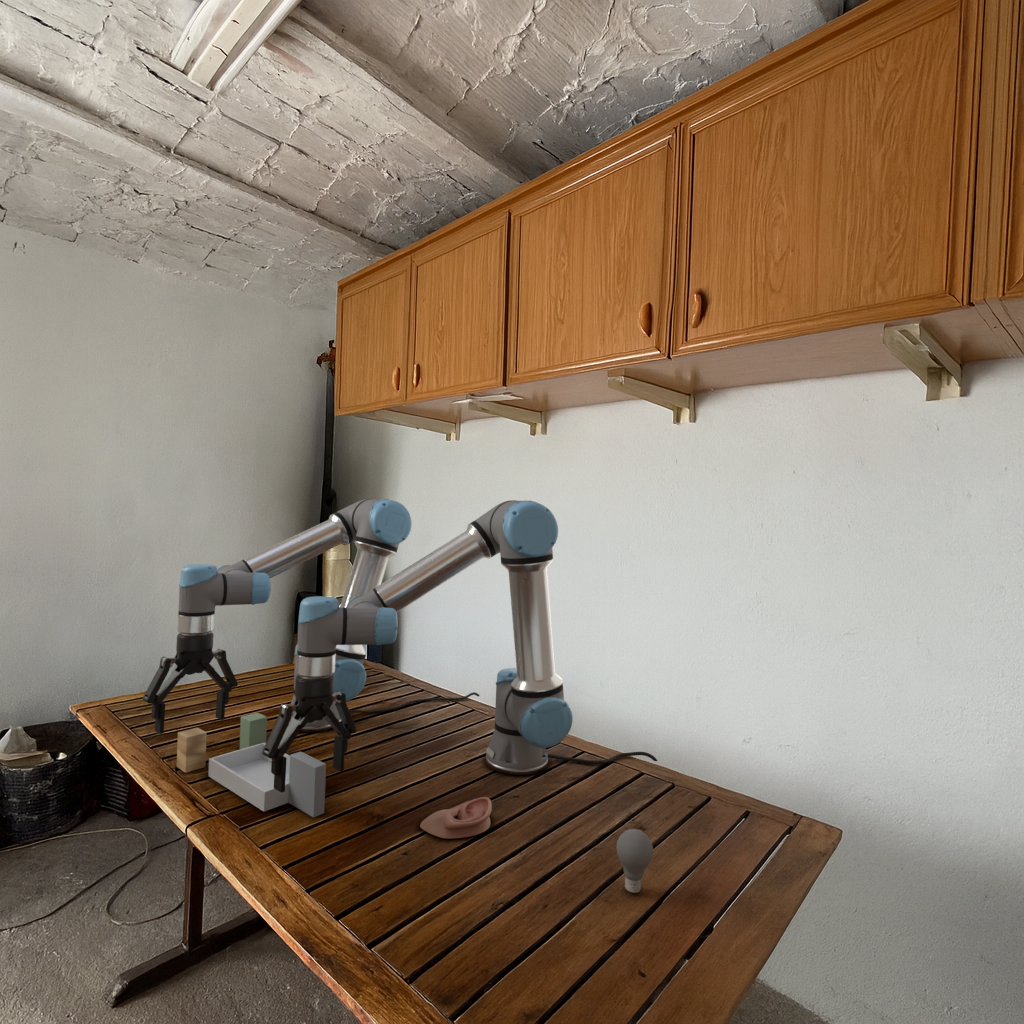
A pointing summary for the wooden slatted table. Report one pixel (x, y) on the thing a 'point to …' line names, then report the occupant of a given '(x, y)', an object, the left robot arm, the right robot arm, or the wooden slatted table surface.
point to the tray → (272, 779)
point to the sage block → (253, 730)
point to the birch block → (191, 750)
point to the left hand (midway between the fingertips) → (190, 725)
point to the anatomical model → (460, 820)
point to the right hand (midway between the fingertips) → (309, 779)
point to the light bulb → (634, 857)
